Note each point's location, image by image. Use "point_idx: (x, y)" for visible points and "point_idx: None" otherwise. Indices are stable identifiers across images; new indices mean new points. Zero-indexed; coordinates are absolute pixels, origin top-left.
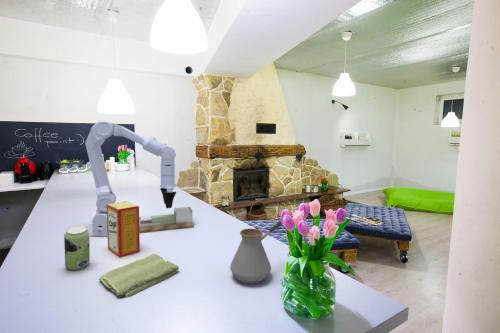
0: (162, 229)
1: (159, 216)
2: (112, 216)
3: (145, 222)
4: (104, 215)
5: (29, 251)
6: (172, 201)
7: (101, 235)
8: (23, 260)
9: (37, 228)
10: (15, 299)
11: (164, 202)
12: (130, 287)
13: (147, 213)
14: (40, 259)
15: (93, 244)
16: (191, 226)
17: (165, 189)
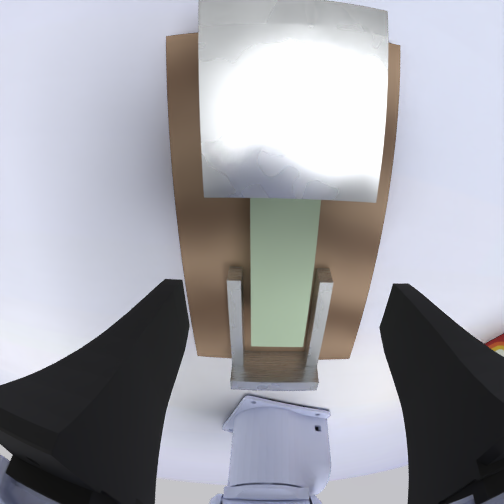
0: (374, 257)
1: (286, 305)
2: None
3: (243, 339)
4: (324, 486)
5: (336, 473)
6: (461, 330)
7: (315, 428)
8: (377, 467)
9: (186, 477)
10: None
11: (184, 339)
12: None
13: (24, 288)
14: (391, 457)
15: (371, 426)
16: (395, 62)
17: (129, 489)
